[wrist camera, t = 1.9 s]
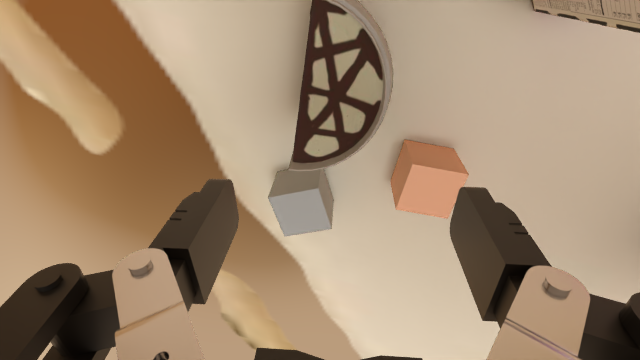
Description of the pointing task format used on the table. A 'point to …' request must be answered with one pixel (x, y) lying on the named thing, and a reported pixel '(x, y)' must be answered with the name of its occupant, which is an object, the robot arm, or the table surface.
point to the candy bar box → (595, 11)
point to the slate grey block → (302, 201)
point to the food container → (341, 85)
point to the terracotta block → (427, 179)
